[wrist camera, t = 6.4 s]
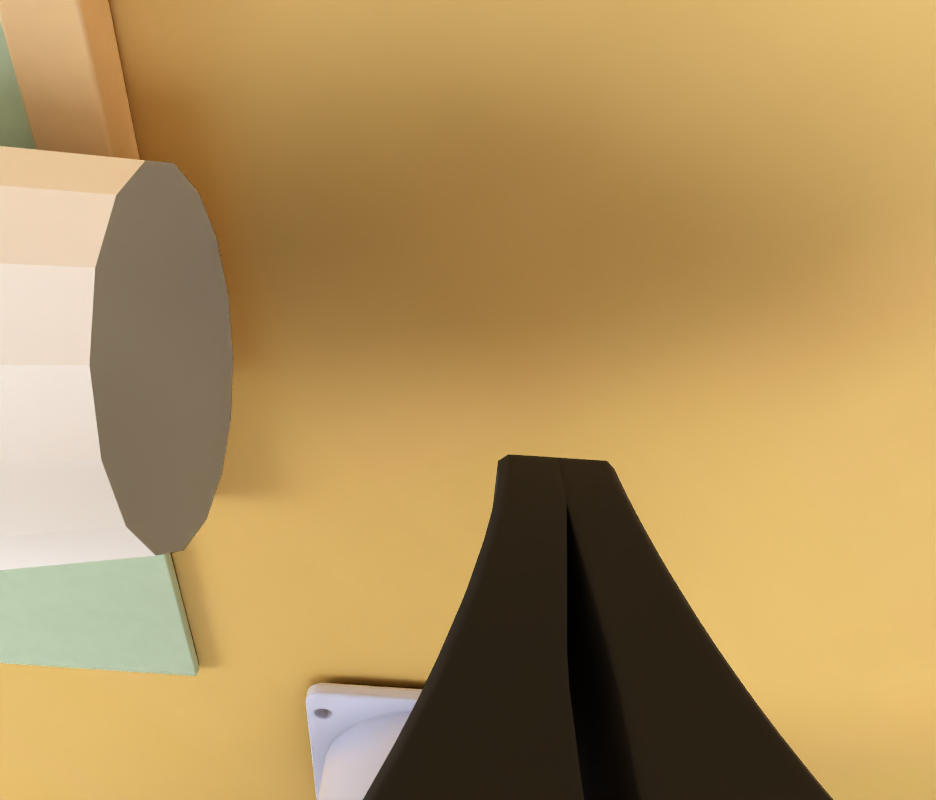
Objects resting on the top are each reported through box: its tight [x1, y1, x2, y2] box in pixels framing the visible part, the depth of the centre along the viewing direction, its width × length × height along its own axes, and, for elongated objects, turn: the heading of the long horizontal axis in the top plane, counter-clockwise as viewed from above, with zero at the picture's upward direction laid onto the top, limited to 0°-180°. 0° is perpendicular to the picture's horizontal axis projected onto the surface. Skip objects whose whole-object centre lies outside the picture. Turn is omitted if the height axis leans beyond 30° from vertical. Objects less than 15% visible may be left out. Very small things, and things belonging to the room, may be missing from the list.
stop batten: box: [0, 0, 140, 160], centre depth 14 cm, size 12×1×1 cm, turn 176°
